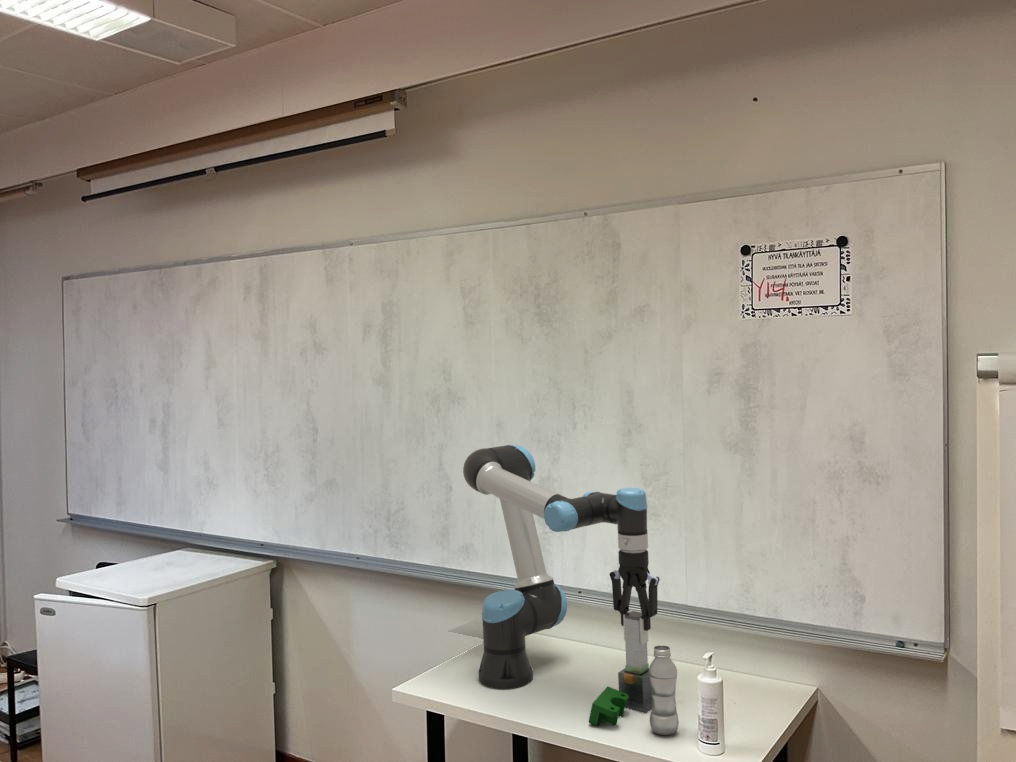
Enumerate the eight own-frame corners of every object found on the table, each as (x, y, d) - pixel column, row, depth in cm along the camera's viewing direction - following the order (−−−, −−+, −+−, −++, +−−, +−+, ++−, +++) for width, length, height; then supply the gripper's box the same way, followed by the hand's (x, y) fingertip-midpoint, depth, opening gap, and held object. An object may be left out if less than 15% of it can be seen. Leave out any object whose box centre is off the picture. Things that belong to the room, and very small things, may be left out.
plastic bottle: (651, 725, 197) (648, 642, 197) (680, 727, 196) (677, 644, 195) (648, 737, 191) (645, 651, 191) (677, 740, 189) (675, 653, 189)
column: (625, 672, 211) (623, 615, 210) (634, 667, 214) (632, 610, 214) (640, 676, 208) (638, 617, 207) (648, 670, 211) (646, 613, 211)
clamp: (610, 744, 198) (613, 718, 194) (587, 734, 200) (589, 708, 196) (628, 708, 207) (631, 682, 203) (606, 699, 210) (608, 673, 205)
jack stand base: (611, 704, 210) (610, 671, 210) (631, 691, 218) (630, 659, 218) (645, 713, 204) (644, 680, 204) (665, 699, 212) (664, 667, 212)
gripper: (596, 548, 213) (599, 638, 213) (655, 556, 202) (658, 651, 202) (612, 543, 218) (615, 630, 219) (670, 550, 208) (673, 642, 208)
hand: (636, 640), depth 211 cm, fingers closed on column, 4 cm apart
